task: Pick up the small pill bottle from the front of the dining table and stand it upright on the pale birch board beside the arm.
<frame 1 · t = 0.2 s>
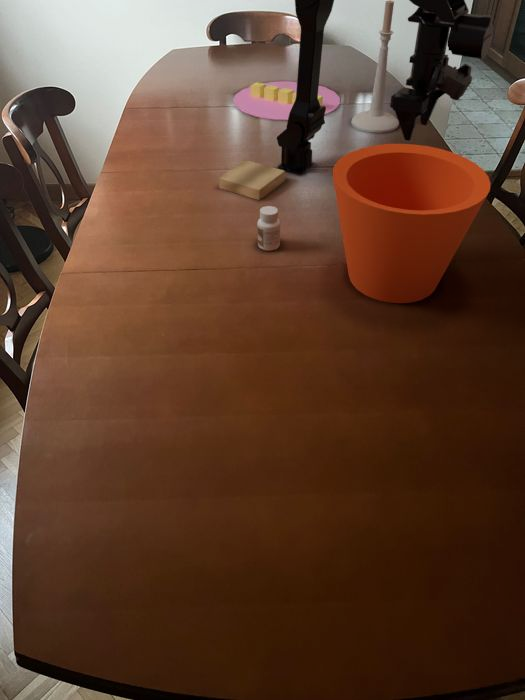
hand: (415, 132, 121), 15 cm above the table, tool pointing down, fingers open, 9 cm apart
birch board: (252, 184, 136), on the table
platter: (286, 100, 176), on the table
pill bottle: (268, 246, 117), on the table
candlestick: (374, 124, 162), on the table
flowerpot: (392, 277, 109), on the table
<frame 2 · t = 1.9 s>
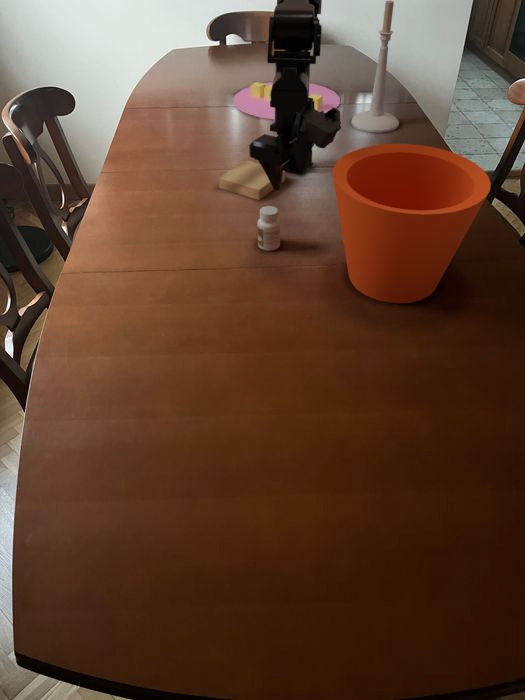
hand: (289, 180, 110), 13 cm above the table, tool pointing down, fingers open, 9 cm apart
nothing on the table moved.
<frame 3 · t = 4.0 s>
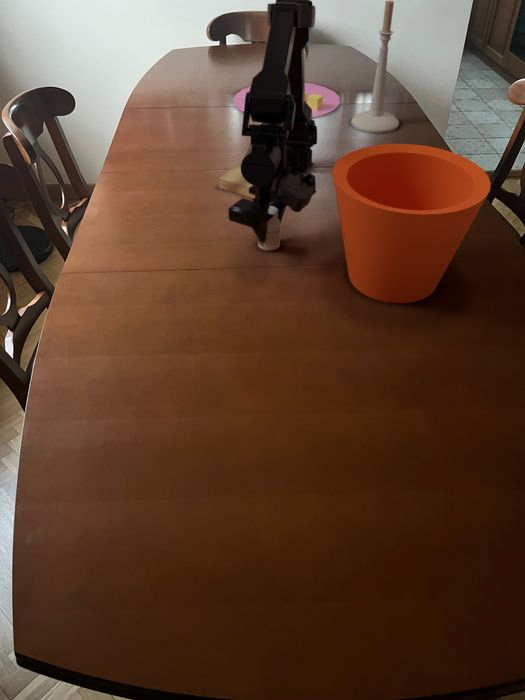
hand: (268, 236, 115), 2 cm above the table, tool pointing down, fingers closed on pill bottle, 4 cm apart
pill bottle: (268, 246, 117), on the table, touching gripper
everything else where it was.
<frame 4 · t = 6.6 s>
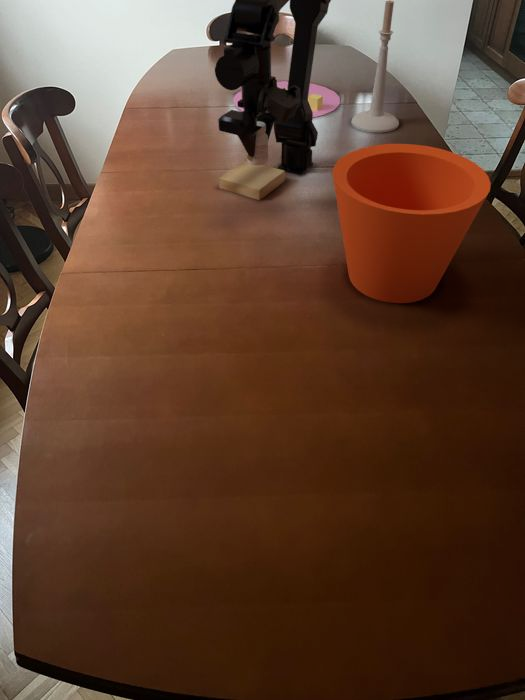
hand: (257, 152, 122), 12 cm above the table, tool pointing down, fingers closed on pill bottle, 4 cm apart
pill bottle: (257, 162, 123), point 9 cm above the table, touching gripper
everything else where it was.
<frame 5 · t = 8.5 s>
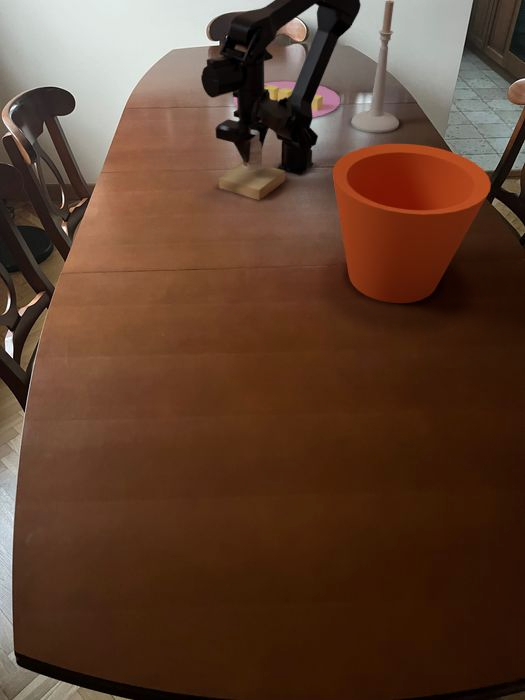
hand: (252, 158, 132), 6 cm above the table, tool pointing down, fingers closed on pill bottle, 4 cm apart
pill bottle: (252, 167, 133), point 4 cm above the table, touching gripper
everything else where it was.
when the fingers open (4 cm above the table, at t = 9.5 s): pill bottle stays where it is, resting on birch board.
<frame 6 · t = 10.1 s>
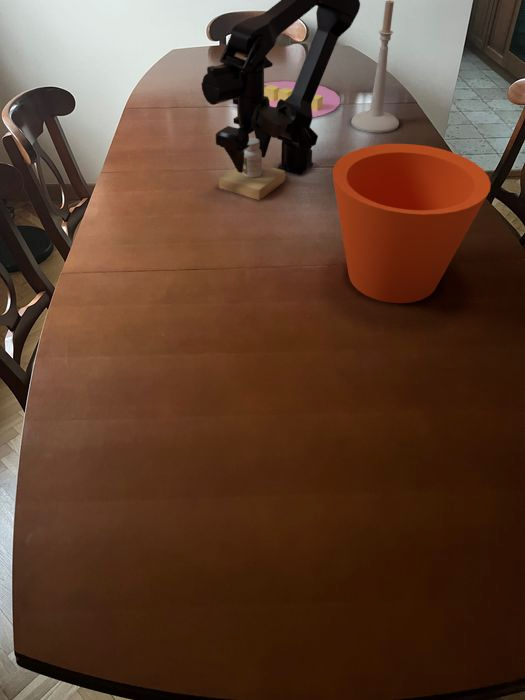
hand: (251, 164, 133), 5 cm above the table, tool pointing down, fingers open, 9 cm apart
pill bottle: (252, 174, 135), point 2 cm above the table, touching birch board
everything else where it was.
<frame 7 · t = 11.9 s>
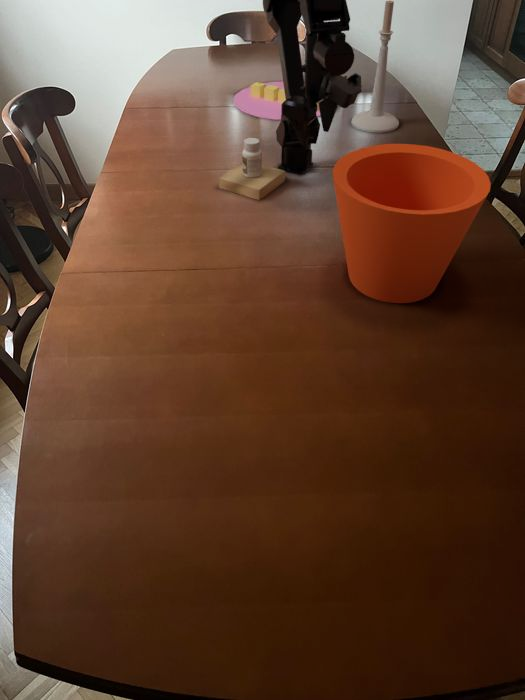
hand: (315, 138, 125), 12 cm above the table, tool pointing down, fingers open, 9 cm apart
nothing on the table moved.
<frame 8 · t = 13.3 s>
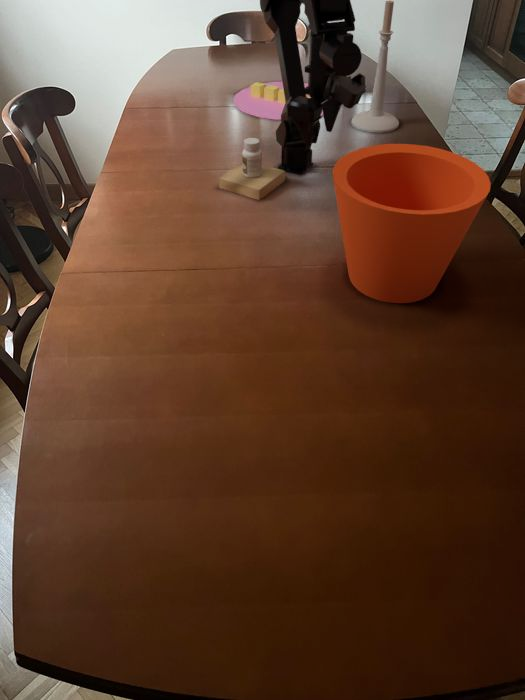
hand: (319, 138, 125), 12 cm above the table, tool pointing down, fingers open, 9 cm apart
nothing on the table moved.
at the end: pill bottle inside the target area on the birch board (0.1 cm from its centre), point 2.3 cm above the birch board's base; pill bottle tilted 0°; the gripper is holding nothing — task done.
